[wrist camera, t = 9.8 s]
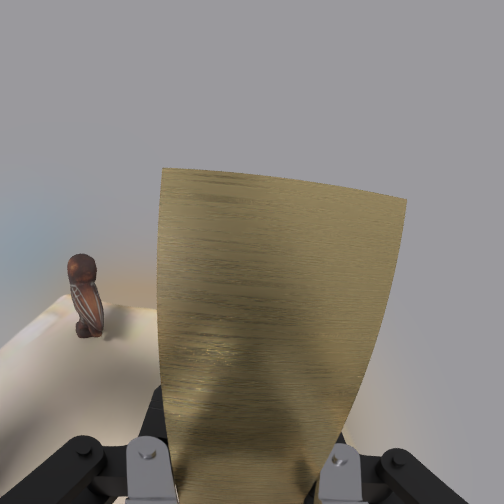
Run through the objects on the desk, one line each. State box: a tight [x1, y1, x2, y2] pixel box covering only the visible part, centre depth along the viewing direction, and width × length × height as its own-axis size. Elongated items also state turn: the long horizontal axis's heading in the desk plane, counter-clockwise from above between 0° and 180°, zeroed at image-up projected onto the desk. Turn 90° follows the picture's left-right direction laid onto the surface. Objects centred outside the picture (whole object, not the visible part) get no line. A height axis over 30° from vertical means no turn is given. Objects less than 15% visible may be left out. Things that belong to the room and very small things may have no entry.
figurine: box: [67, 254, 104, 338], centre depth 44 cm, size 13×6×15 cm, turn 46°
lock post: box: [157, 168, 407, 504], centre depth 8 cm, size 4×4×18 cm
